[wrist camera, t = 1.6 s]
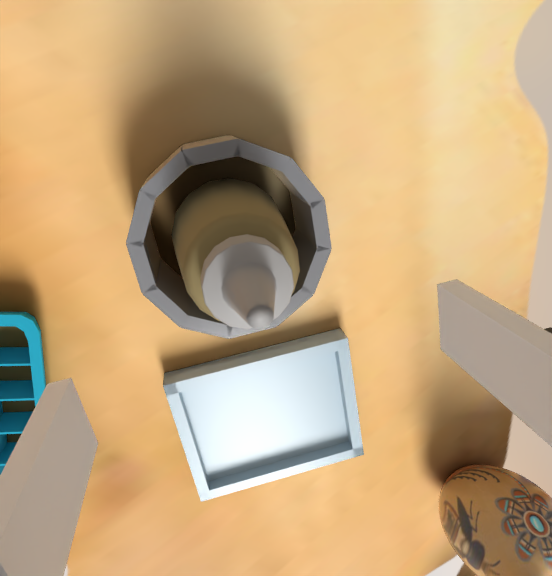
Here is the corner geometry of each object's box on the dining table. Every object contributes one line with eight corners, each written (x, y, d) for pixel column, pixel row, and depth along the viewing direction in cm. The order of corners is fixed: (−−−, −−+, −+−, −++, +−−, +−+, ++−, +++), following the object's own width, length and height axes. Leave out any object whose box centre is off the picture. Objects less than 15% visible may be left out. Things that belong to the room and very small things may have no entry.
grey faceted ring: (291, 122, 34) (313, 123, 28) (316, 281, 39) (340, 310, 33) (116, 157, 33) (101, 166, 27) (165, 317, 37) (162, 355, 31)
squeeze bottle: (155, 194, 34) (126, 266, 17) (256, 156, 34) (322, 192, 18) (196, 287, 37) (206, 425, 20) (288, 252, 37) (371, 358, 21)
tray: (340, 328, 41) (347, 337, 39) (356, 440, 46) (363, 454, 44) (164, 373, 39) (163, 385, 37) (200, 485, 44) (201, 501, 42)
